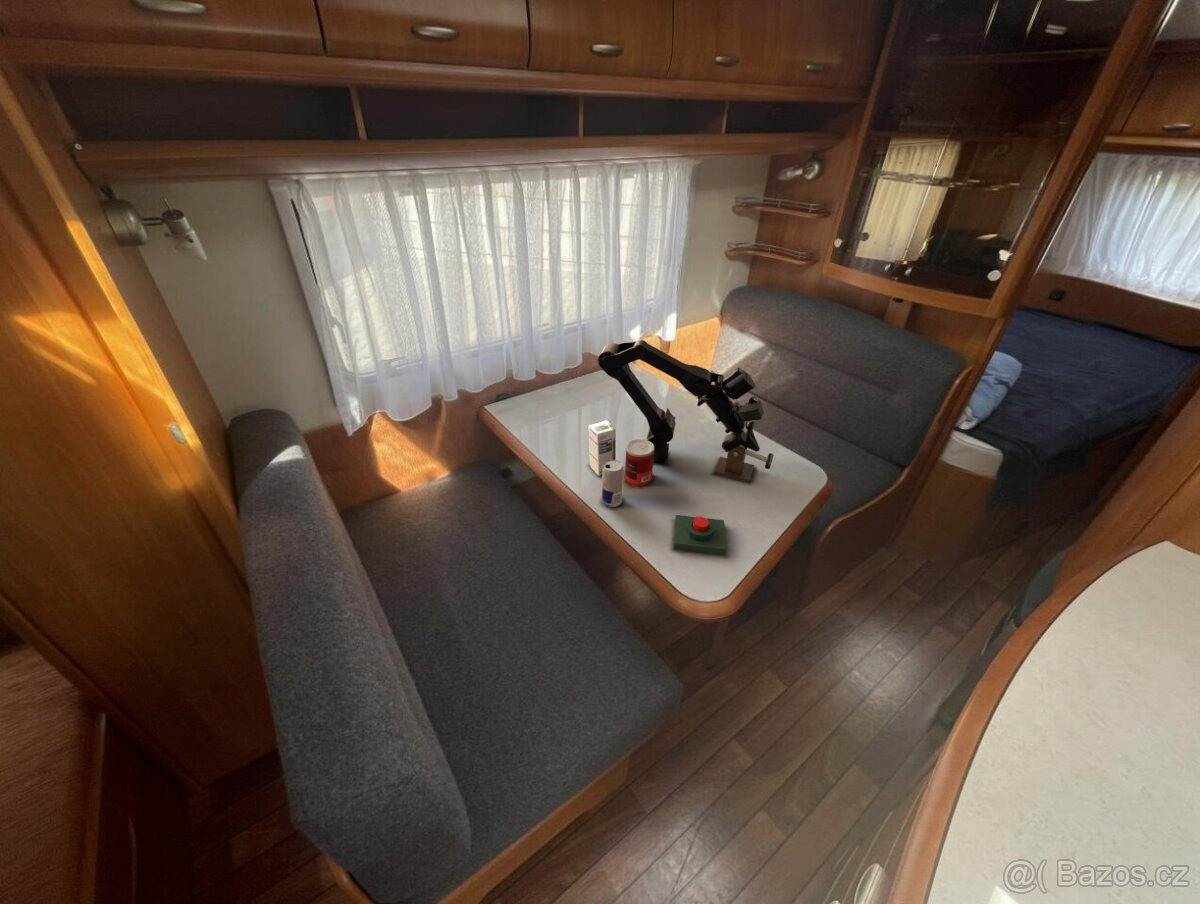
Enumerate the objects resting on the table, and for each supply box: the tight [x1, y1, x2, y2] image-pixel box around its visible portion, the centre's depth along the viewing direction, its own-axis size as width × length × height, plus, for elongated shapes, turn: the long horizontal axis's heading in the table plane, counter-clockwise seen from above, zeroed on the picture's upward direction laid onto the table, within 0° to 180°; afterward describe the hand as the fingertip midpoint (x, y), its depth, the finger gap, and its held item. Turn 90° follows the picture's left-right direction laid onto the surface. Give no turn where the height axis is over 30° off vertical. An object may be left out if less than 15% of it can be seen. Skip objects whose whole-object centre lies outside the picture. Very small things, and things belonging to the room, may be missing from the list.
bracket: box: [713, 446, 755, 483], centre depth 137 cm, size 10×8×10 cm
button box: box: [672, 514, 727, 556], centre depth 116 cm, size 12×10×4 cm
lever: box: [739, 445, 774, 470], centre depth 134 cm, size 11×6×2 cm, turn 65°
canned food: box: [624, 438, 654, 487], centre depth 134 cm, size 8×8×11 cm
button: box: [693, 516, 709, 532], centre depth 115 cm, size 4×4×2 cm
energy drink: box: [601, 459, 624, 508], centre depth 125 cm, size 5×5×12 cm
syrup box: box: [588, 420, 617, 477], centre depth 137 cm, size 6×6×14 cm
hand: (758, 450), depth 132 cm, fingers closed
